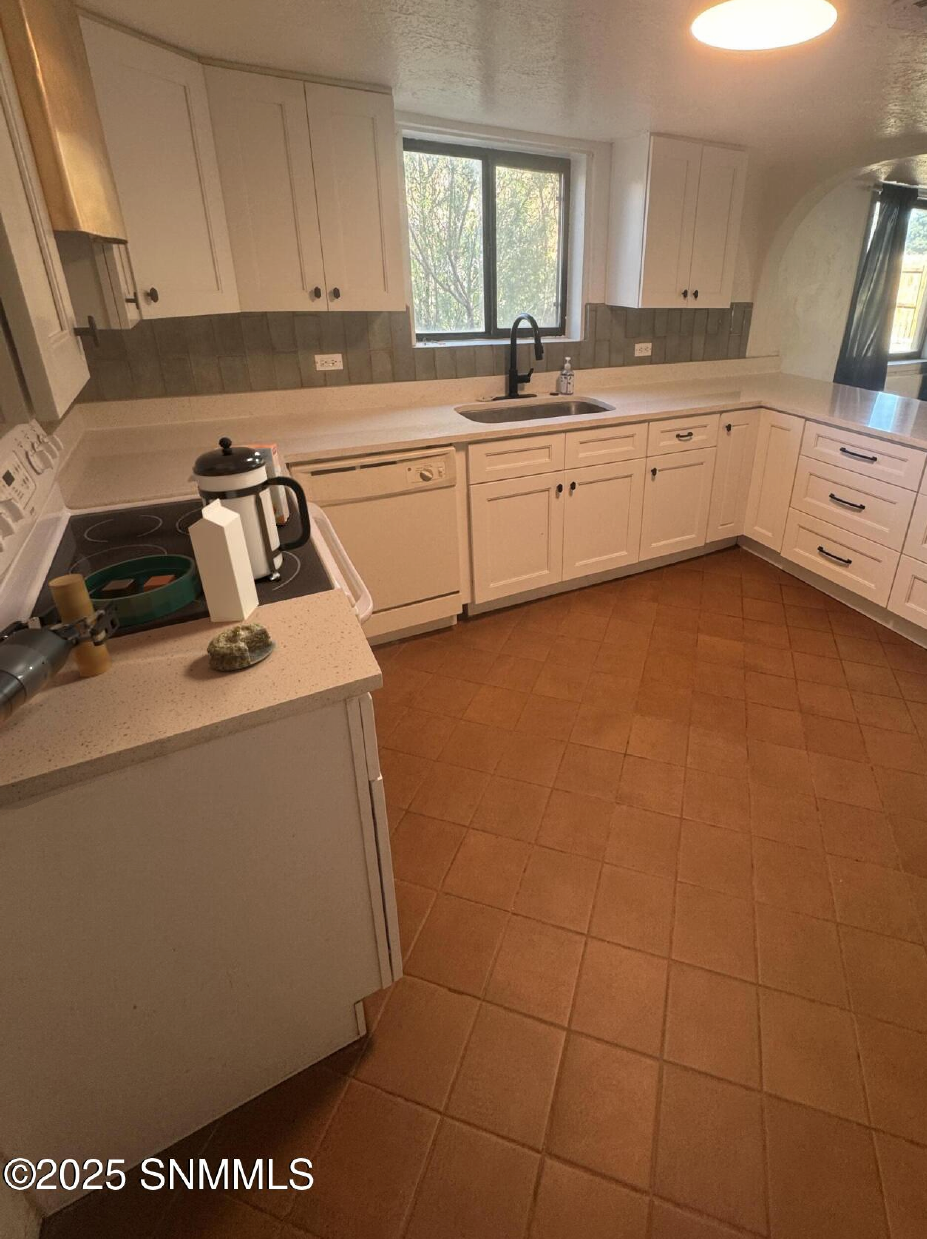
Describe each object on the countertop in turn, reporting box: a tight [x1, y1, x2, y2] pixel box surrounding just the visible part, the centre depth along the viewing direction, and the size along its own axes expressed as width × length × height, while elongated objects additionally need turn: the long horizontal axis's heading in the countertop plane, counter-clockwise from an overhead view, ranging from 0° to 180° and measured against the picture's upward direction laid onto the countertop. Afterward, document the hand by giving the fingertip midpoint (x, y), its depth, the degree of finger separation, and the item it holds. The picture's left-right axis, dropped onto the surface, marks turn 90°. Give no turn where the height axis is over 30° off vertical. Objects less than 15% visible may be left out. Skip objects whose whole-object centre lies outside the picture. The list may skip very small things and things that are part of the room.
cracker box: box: [213, 442, 290, 523], centre depth 146 cm, size 14×6×21 cm, turn 102°
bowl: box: [83, 553, 202, 628], centre depth 111 cm, size 19×19×6 cm
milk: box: [187, 499, 260, 623], centre depth 103 cm, size 6×6×22 cm
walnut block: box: [101, 579, 139, 599], centre depth 110 cm, size 4×4×4 cm
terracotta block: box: [143, 575, 176, 592], centre depth 112 cm, size 4×4×4 cm
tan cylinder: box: [48, 573, 113, 678], centre depth 89 cm, size 4×4×16 cm
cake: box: [206, 622, 277, 672], centre depth 94 cm, size 10×10×5 cm
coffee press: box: [187, 436, 312, 584], centre depth 118 cm, size 17×16×30 cm
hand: (85, 607), depth 90 cm, fingers open, 7 cm apart
